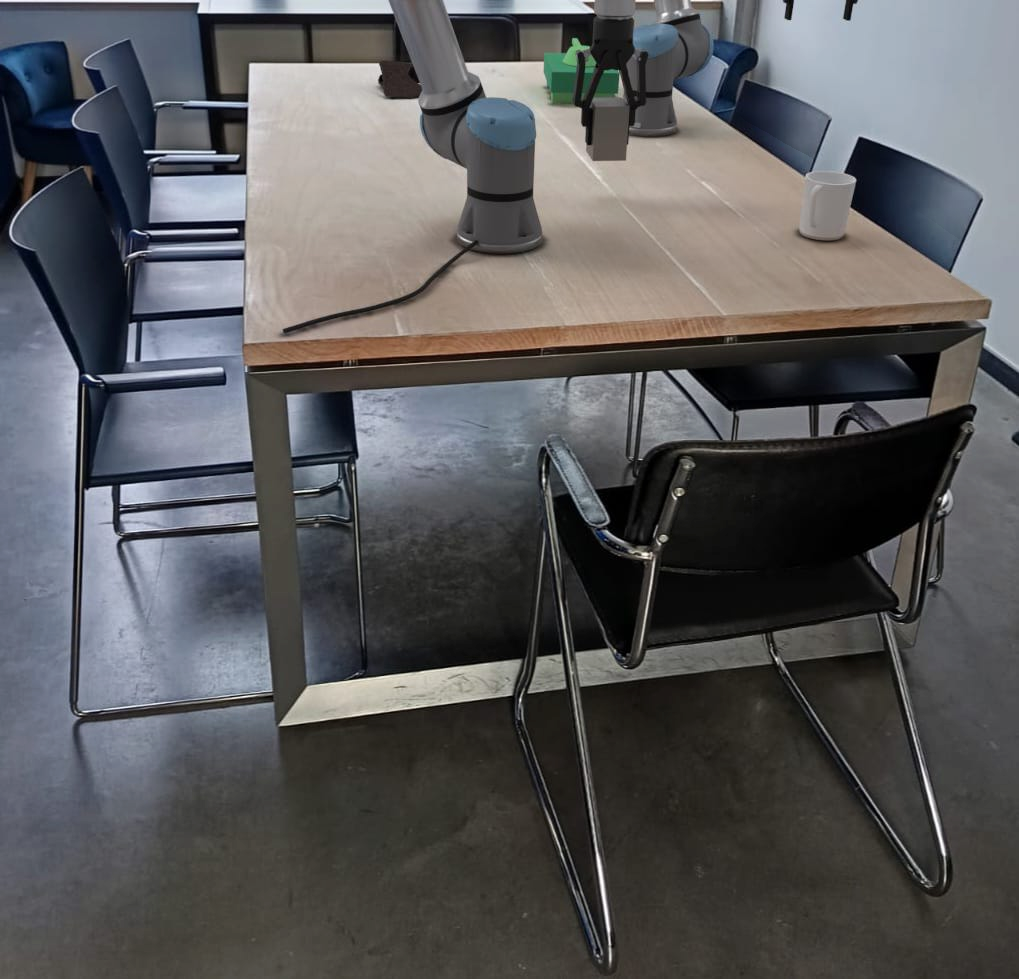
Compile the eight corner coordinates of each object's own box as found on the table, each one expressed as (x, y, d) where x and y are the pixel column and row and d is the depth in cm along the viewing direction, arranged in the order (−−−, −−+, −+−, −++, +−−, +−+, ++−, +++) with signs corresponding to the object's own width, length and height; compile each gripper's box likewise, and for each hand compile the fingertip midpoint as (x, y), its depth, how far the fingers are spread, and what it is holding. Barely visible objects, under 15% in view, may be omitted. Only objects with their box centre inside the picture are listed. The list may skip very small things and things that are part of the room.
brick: (625, 160, 212) (629, 106, 207) (592, 161, 212) (595, 106, 206) (618, 150, 219) (621, 97, 213) (585, 150, 218) (588, 97, 213)
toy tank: (604, 35, 312) (620, 58, 282) (601, 80, 318) (617, 107, 288) (542, 33, 311) (552, 56, 281) (541, 79, 317) (550, 106, 288)
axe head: (443, 87, 294) (392, 77, 287) (436, 115, 299) (385, 106, 292) (421, 62, 307) (371, 52, 300) (414, 89, 311) (365, 80, 304)
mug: (809, 222, 208) (818, 168, 202) (854, 233, 203) (864, 177, 197) (782, 236, 200) (791, 180, 195) (827, 247, 195) (838, 190, 190)
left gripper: (661, 13, 206) (651, 137, 218) (558, 13, 204) (554, 139, 216) (670, 19, 199) (659, 147, 212) (564, 19, 197) (560, 149, 210)
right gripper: (883, -88, 238) (864, 17, 249) (771, -90, 235) (758, 16, 246) (897, -86, 231) (877, 22, 242) (782, -88, 229) (767, 21, 240)
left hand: (606, 143), depth 214 cm, fingers closed on brick, 7 cm apart
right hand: (817, 19), depth 244 cm, fingers open, 13 cm apart
